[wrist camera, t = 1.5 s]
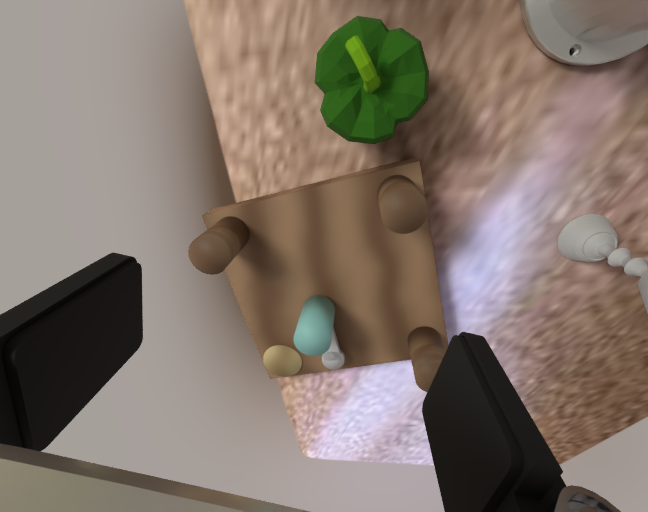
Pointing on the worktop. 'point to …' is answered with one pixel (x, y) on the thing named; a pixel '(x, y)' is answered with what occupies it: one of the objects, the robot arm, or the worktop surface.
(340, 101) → the bell pepper
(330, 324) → the cylinder
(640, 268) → the chalice
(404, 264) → the footstool
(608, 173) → the worktop surface
